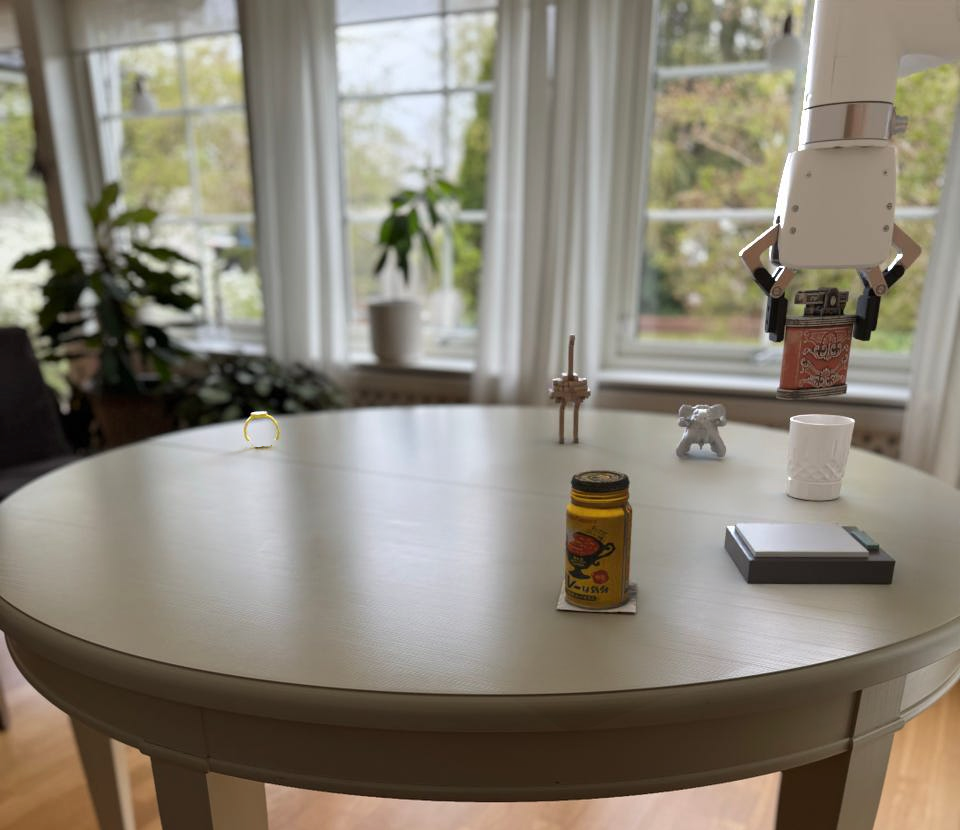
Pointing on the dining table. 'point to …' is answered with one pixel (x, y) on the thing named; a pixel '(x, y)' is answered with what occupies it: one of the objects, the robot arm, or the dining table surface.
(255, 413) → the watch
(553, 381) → the ostrich figurine
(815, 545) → the scale
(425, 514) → the dining table surface
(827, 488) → the white cup
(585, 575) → the condiment
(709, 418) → the elephant statuette
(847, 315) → the lighter
